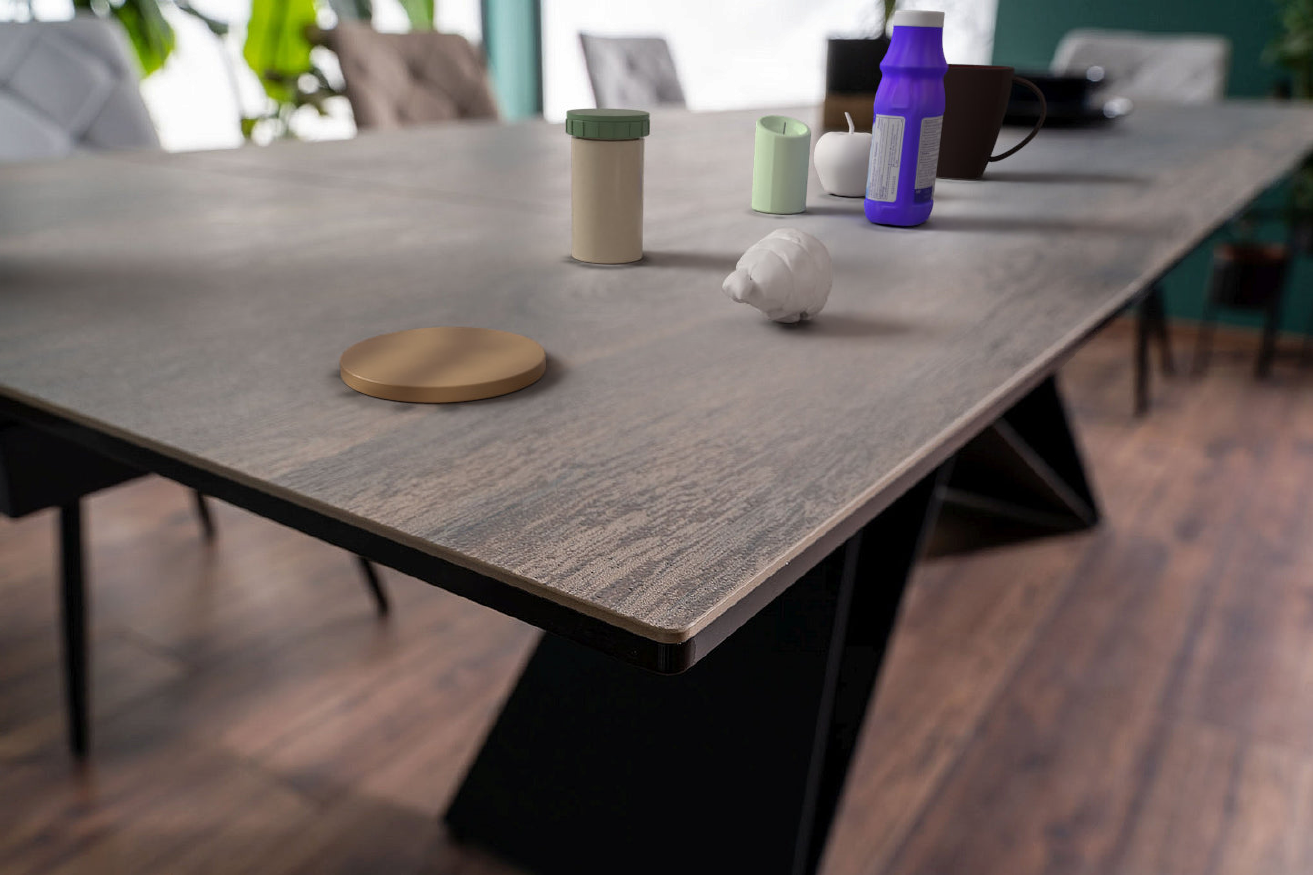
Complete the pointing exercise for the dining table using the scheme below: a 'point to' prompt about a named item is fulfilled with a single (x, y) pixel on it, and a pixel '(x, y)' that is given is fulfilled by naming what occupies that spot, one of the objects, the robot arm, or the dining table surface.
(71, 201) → the dining table surface
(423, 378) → the coaster
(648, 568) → the dining table surface
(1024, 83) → the cup
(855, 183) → the plain white apple
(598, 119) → the lid
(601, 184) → the jar
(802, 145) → the candle
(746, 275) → the garlic bulb
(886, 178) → the bottle
